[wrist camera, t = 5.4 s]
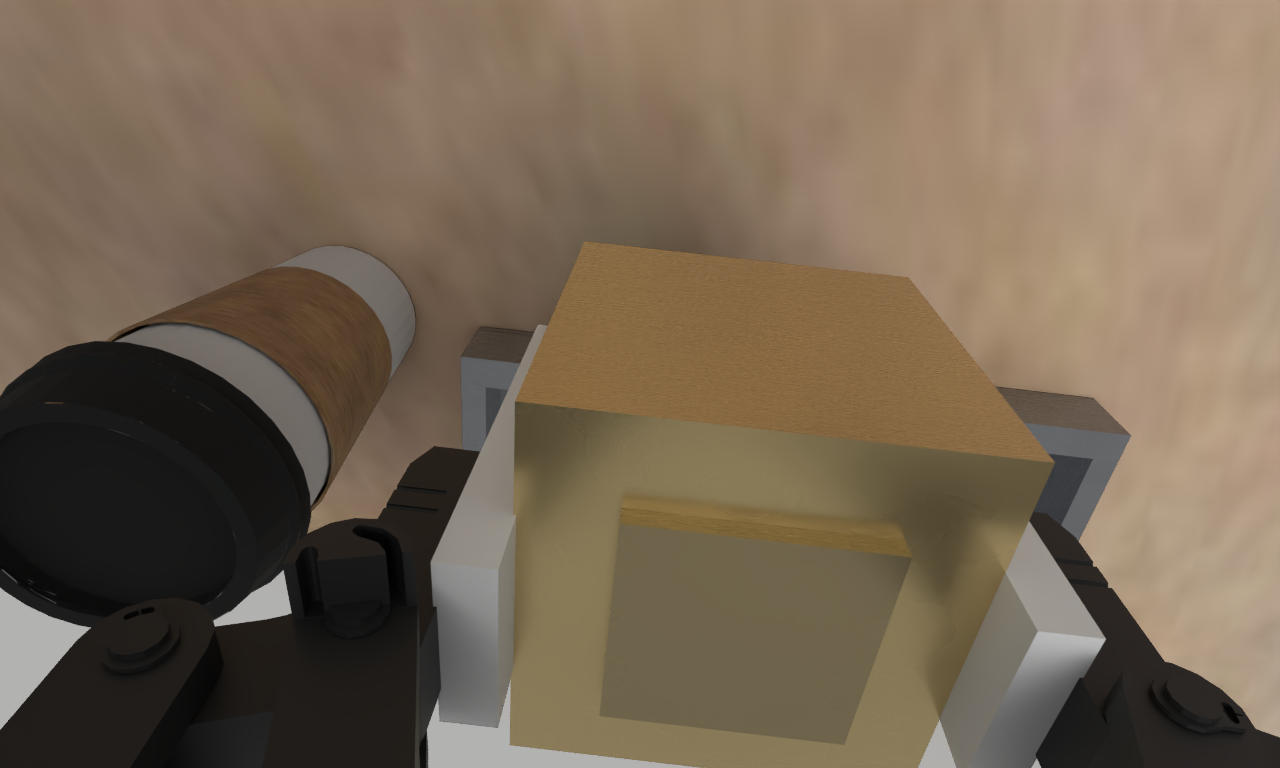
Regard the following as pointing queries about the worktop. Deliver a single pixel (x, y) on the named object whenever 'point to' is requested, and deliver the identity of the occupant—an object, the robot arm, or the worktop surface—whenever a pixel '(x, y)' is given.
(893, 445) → the recessed panel cube
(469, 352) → the grey divided tray
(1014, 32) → the worktop surface
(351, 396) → the coffee cup
